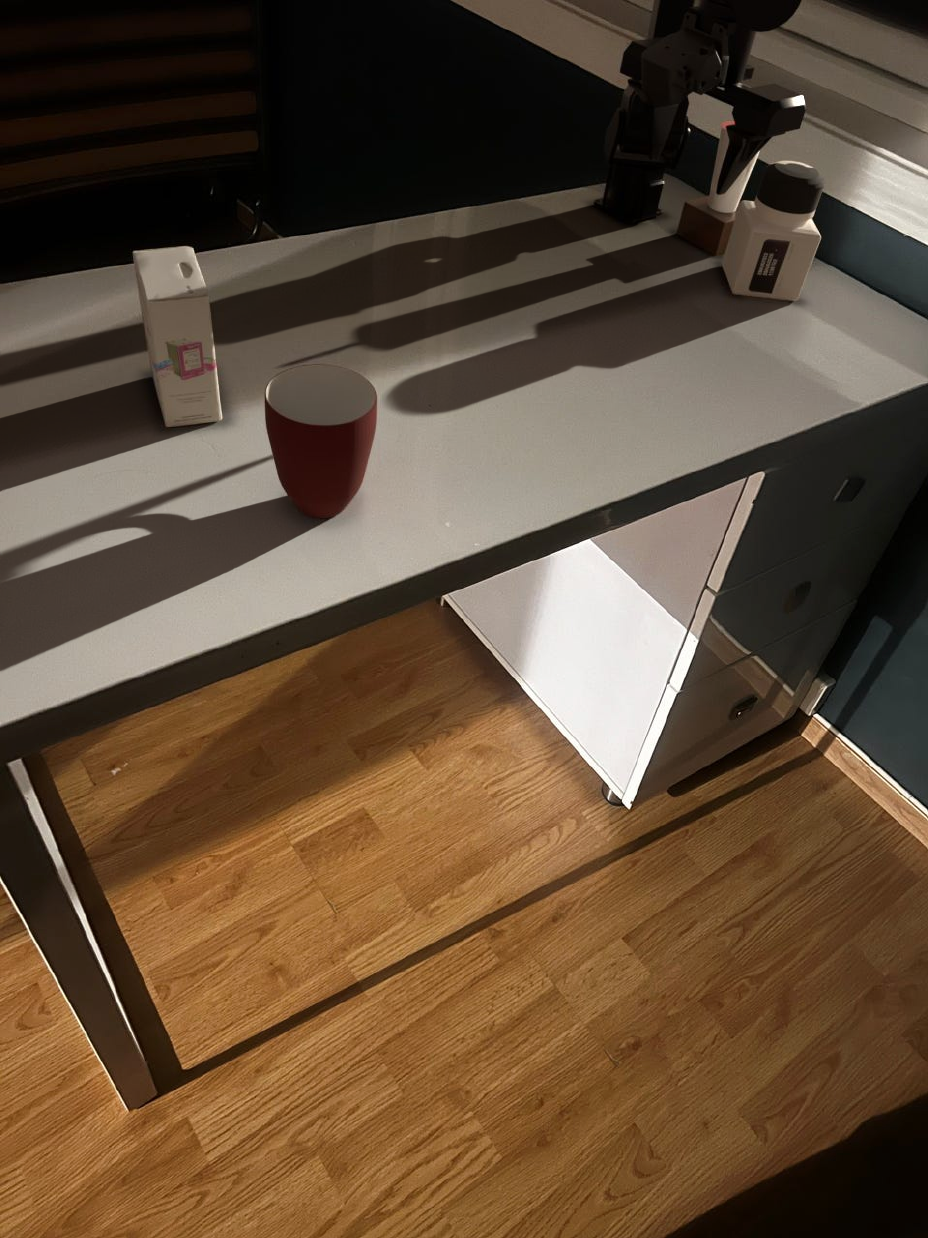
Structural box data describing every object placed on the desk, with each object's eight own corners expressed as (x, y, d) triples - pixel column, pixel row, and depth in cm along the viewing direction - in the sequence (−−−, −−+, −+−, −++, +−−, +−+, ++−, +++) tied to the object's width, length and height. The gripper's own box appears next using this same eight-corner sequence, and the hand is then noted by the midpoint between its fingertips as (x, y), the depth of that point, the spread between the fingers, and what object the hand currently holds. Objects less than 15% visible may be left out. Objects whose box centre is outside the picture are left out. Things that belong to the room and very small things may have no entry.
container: (798, 302, 111) (841, 186, 101) (731, 295, 110) (769, 178, 101) (783, 271, 116) (823, 158, 107) (720, 263, 116) (755, 150, 106)
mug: (227, 484, 77) (217, 374, 70) (303, 445, 82) (302, 338, 75) (318, 551, 73) (317, 440, 66) (393, 505, 78) (400, 398, 71)
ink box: (148, 374, 87) (129, 245, 79) (205, 368, 89) (193, 242, 80) (163, 429, 82) (145, 297, 73) (223, 422, 83) (213, 292, 75)
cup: (751, 216, 117) (785, 108, 108) (711, 216, 115) (743, 108, 107) (731, 197, 120) (762, 91, 112) (692, 197, 119) (721, 90, 110)
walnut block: (675, 233, 120) (684, 201, 118) (710, 223, 124) (719, 192, 121) (715, 255, 117) (725, 222, 114) (749, 244, 120) (759, 212, 118)
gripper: (597, -24, 88) (566, 155, 99) (756, 39, 79) (702, 228, 90) (678, -31, 94) (641, 139, 105) (836, 27, 85) (777, 206, 96)
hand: (686, 176), depth 99 cm, fingers open, 9 cm apart
